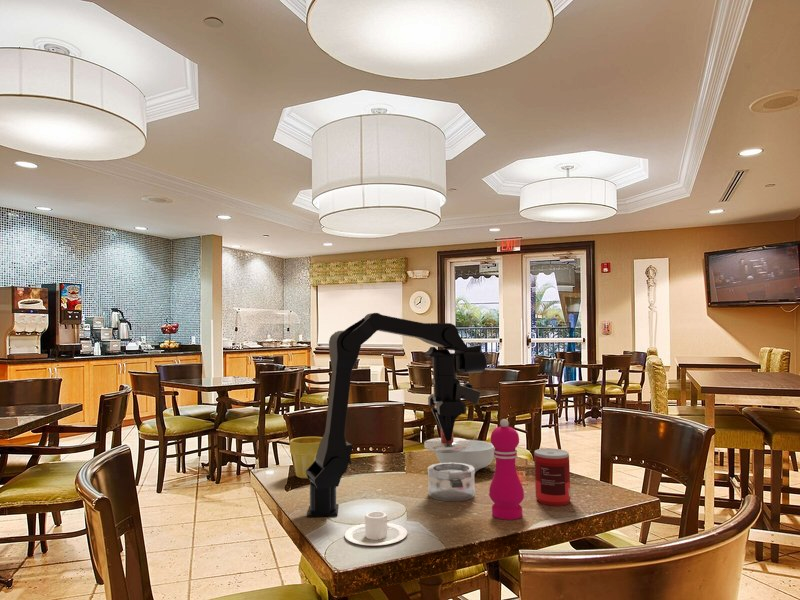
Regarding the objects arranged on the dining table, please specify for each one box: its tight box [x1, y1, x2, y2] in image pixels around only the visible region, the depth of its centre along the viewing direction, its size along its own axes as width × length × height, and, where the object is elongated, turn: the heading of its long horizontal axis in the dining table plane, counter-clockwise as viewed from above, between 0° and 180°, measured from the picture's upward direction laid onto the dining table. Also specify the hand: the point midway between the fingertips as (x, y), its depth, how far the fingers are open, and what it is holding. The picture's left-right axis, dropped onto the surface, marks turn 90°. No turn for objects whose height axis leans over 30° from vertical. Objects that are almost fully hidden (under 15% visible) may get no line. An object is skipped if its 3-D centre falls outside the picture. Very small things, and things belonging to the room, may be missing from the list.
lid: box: [423, 429, 471, 453], centre depth 129 cm, size 11×11×6 cm
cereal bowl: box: [435, 439, 495, 473], centre depth 151 cm, size 17×17×7 cm
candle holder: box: [344, 510, 408, 546], centre depth 102 cm, size 12×12×4 cm
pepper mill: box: [488, 418, 525, 521], centre depth 113 cm, size 7×7×20 cm
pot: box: [427, 462, 476, 502], centre depth 128 cm, size 16×11×6 cm
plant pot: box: [289, 436, 323, 479], centre depth 148 cm, size 10×10×10 cm
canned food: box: [533, 447, 571, 507], centre depth 122 cm, size 8×8×11 cm
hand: (447, 439), depth 129 cm, fingers closed on lid, 3 cm apart
